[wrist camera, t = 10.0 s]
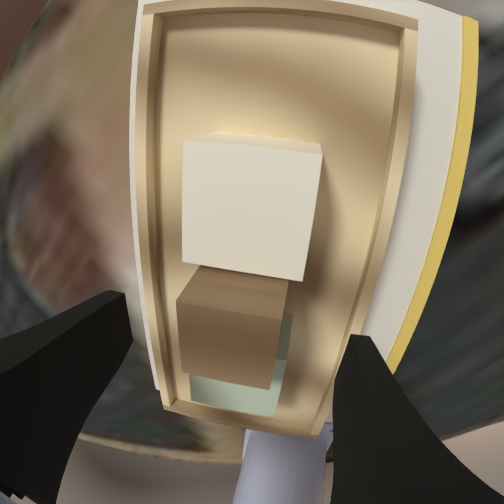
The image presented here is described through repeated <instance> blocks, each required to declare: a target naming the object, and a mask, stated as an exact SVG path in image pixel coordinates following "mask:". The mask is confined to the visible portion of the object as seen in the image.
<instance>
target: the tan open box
mask: <svg viewBox="0 0 504 504" xmlns="http://www.w3.org/2000/svg"><path fill="white" fill-rule="evenodd" d="M417 47H418V19H415V18H411V17H408V16H404V15H400V14H396V13H392V12H388V11H384V10H380V9H375V8H370V7H365V6H360V5H355V4H349V3H343V2H336V1H329V0H170V1H163V2H156V3H150V4H144V7H143V15H142V23H141V32H140V42H139V53H138V67H137V83H136V106H135V181H136V205H137V222H138V236H139V249H140V260H141V270H142V279H143V288H144V296H145V304H146V312H147V319H148V326H149V332H150V339H151V345H152V351H153V356H154V362H155V368H156V373H157V378H158V383H159V388H160V393H161V398H162V403H163V407H164V409H165V410H169V411H172V412H176V413H179V414H183V415H187V416H191V417H195V418H198V419H203V420H207V421H211V422H215V423H220V424H224V425H229V426H234V427H239V428H244V429H249V430H255V431H261V432H267V433H273V434H279V435H287V436H294V437H302V438H311V439H317V438H318V436H319V433H320V431H321V429H322V427H323V425H324V423H325V420H326V418H327V416H328V414H329V411H330V409H331V407H332V405H333V392H334V379H335V377H336V374H337V371H338V369H339V366H340V363H341V360H342V357H343V355H344V352H345V349H346V346H347V343H348V340H349V337H350V334H357V335H360V332H361V329H362V326H363V323H364V320H365V317H366V314H367V311H368V308H369V305H370V302H371V299H372V296H373V292H374V289H375V286H376V282H377V279H378V275H379V272H380V268H381V265H382V261H383V257H384V254H385V250H386V246H387V242H388V238H389V234H390V230H391V226H392V222H393V217H394V213H395V208H396V204H397V199H398V194H399V189H400V184H401V179H402V174H403V169H404V163H405V157H406V151H407V145H408V138H409V131H410V124H411V116H412V108H413V99H414V89H415V78H416V65H417ZM213 132H215V133H229V134H241V135H252V136H262V137H271V138H280V139H288V140H295V141H303V142H310V143H316V144H320V146H321V150H322V154H323V157H322V164H321V171H320V178H319V185H318V192H317V199H316V205H315V211H314V218H313V224H312V230H311V236H310V242H309V248H308V253H307V259H306V265H305V270H304V276H303V281H302V282H301V281H295V280H289V279H282V278H276V277H270V276H264V275H258V274H252V273H245V272H239V271H233V270H227V269H222V268H216V267H210V266H204V265H198V264H192V263H187V262H182V171H183V141H184V140H188V139H191V138H195V137H198V136H202V135H205V134H209V133H213ZM284 314H290V315H293V320H292V328H291V335H290V343H289V350H288V357H287V363H286V367H285V372H284V376H283V381H282V385H281V390H280V394H279V398H278V402H277V407H276V411H275V415H274V418H272V417H266V416H260V415H255V414H249V413H244V412H239V411H234V410H229V409H225V408H220V407H215V406H211V405H207V404H203V403H199V402H195V401H191V394H190V383H189V374H192V375H196V376H201V377H205V378H209V379H214V380H218V381H223V382H228V383H233V384H238V385H243V386H249V387H254V388H260V389H266V390H270V386H271V381H272V376H273V370H274V365H275V360H276V354H277V349H278V343H279V338H280V332H281V326H282V320H283V315H284Z"/></svg>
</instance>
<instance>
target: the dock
mask: <svg viewBox="0 0 504 504" xmlns="http://www.w3.org/2000/svg"><path fill="white" fill-rule="evenodd" d="M163 1H170V0H139V3H138V10H137V18H136V27H135V36H134V47H133V59H132V73H131V92H130V130H129V150H130V189H131V208H132V224H133V236H134V248H135V258H136V268H137V277H138V285H139V293H140V300H141V308H142V315H143V321H144V327H145V334H146V340H147V345H148V351H149V356H150V362H151V367H152V372H153V377H154V382H155V387H156V389H158V390H160V388H159V383H158V378H157V373H156V368H155V362H154V356H153V351H152V345H151V339H150V332H149V326H148V319H147V312H146V304H145V296H144V288H143V279H142V270H141V260H140V249H139V236H138V222H137V205H136V181H135V106H136V83H137V67H138V53H139V42H140V32H141V23H142V15H143V7H144V4H150V3H156V2H163ZM329 1H336V2H343V3H349V4H355V5H360V6H365V7H370V8H375V9H380V10H384V11H388V12H392V13H396V14H400V15H404V16H408V17H411V18H415V19H418V47H417V65H416V78H415V89H414V99H413V108H412V116H411V124H410V131H409V138H408V145H407V151H406V157H405V163H404V169H403V174H402V179H401V184H400V189H399V194H398V199H397V204H396V208H395V213H394V217H393V222H392V226H391V230H390V234H389V238H388V242H387V246H386V250H385V254H384V257H383V261H382V265H381V268H380V272H379V275H378V279H377V282H376V286H375V289H374V292H373V296H372V299H371V302H370V305H369V308H368V311H367V314H366V317H365V320H364V323H363V326H362V329H361V332H360V335H365V336H370V337H371V339H372V340H373V342H374V344H375V345H376V347H377V349H378V350H379V352H380V354H381V356H382V357H383V359H384V361H385V362H386V364H387V366H388V367H389V369H390V371H391V372H392V374H394V372H395V370H396V368H397V366H398V364H399V362H400V360H401V358H402V356H403V354H404V352H405V350H406V347H407V345H408V343H409V341H410V339H411V337H412V334H413V332H414V330H415V327H416V325H417V323H418V320H419V318H420V316H421V313H422V311H423V308H424V306H425V303H426V301H427V298H428V296H429V293H430V290H431V288H432V285H433V282H434V279H435V277H436V274H437V271H438V268H439V265H440V262H441V259H442V256H443V253H444V250H445V247H446V243H447V240H448V237H449V233H450V230H451V226H452V223H453V219H454V215H455V212H456V208H457V204H458V200H459V195H460V191H461V187H462V182H463V178H464V173H465V168H466V163H467V157H468V152H469V146H470V140H471V133H472V126H473V118H474V110H475V100H476V89H477V74H478V21H476V20H474V19H471V18H469V17H467V16H464V15H463V16H460V15H458V14H455V13H453V12H450V11H447V10H444V9H442V8H439V7H436V6H433V5H430V4H427V3H424V2H420V1H417V0H329ZM325 422H330V423H333V416H332V407H331V409H330V411H329V414H328V416H327V418H326V420H325Z"/></svg>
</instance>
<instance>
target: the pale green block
mask: <svg viewBox="0 0 504 504" xmlns="http://www.w3.org/2000/svg"><path fill="white" fill-rule="evenodd" d="M292 320H293V315H290V314H284V315H283V320H282V326H281V332H280V338H279V343H278V349H277V354H276V360H275V365H274V370H273V376H272V381H271V386H270V390H266V389H260V388H254V387H249V386H243V385H238V384H233V383H228V382H223V381H218V380H214V379H209V378H205V377H201V376H196V375H192V374H189V383H190V394H191V401H195V402H199V403H203V404H207V405H211V406H215V407H220V408H225V409H229V410H234V411H239V412H244V413H249V414H255V415H260V416H266V417H272V418H274V415H275V411H276V407H277V402H278V398H279V394H280V390H281V385H282V381H283V376H284V372H285V367H286V363H287V357H288V350H289V343H290V335H291V328H292Z"/></svg>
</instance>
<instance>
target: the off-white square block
mask: <svg viewBox="0 0 504 504" xmlns="http://www.w3.org/2000/svg"><path fill="white" fill-rule="evenodd" d="M322 157H323V154H322V150H321V146H320V144H316V143H310V142H303V141H295V140H288V139H280V138H271V137H262V136H252V135H241V134H229V133H215V132H213V133H209V134H205V135H202V136H198V137H195V138H191V139H188V140H184V141H183V171H182V262H187V263H192V264H198V265H204V266H210V267H216V268H222V269H227V270H233V271H239V272H245V273H252V274H258V275H264V276H270V277H276V278H282V279H289V280H295V281H301V282H302V281H303V276H304V270H305V265H306V259H307V253H308V248H309V242H310V236H311V230H312V224H313V218H314V211H315V205H316V199H317V192H318V185H319V178H320V171H321V164H322Z"/></svg>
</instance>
